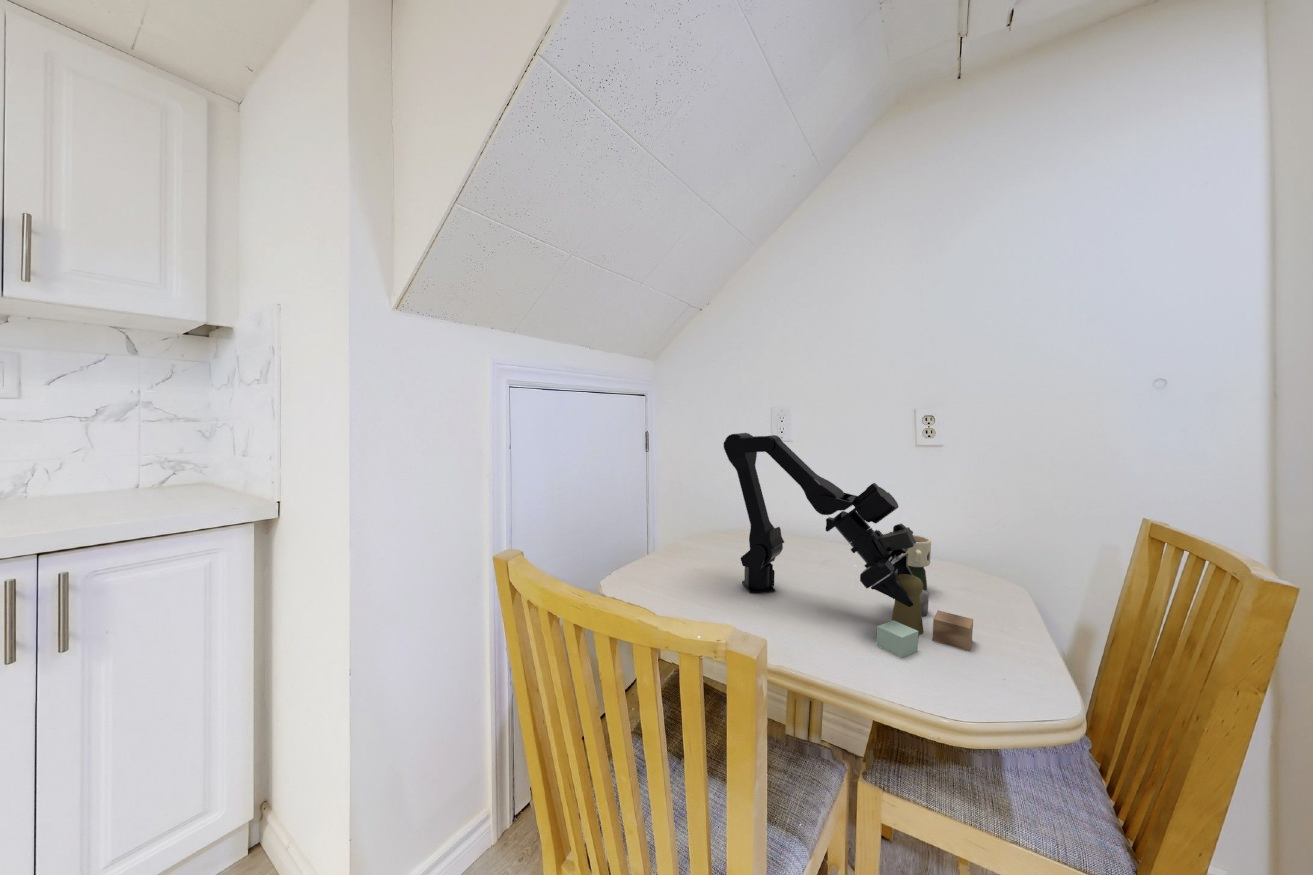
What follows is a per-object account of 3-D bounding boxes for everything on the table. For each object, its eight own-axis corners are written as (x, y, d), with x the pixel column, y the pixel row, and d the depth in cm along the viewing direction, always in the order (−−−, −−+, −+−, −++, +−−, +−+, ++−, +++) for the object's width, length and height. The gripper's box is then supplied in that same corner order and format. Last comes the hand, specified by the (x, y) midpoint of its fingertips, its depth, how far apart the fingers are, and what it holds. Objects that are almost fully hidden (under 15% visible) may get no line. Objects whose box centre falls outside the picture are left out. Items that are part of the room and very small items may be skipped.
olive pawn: (928, 636, 92) (930, 583, 91) (895, 633, 93) (897, 580, 92) (917, 622, 98) (919, 572, 97) (886, 619, 99) (888, 569, 98)
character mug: (934, 599, 109) (937, 546, 108) (901, 596, 111) (903, 543, 110) (922, 582, 119) (924, 533, 118) (892, 579, 121) (894, 531, 120)
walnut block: (932, 641, 90) (933, 618, 90) (936, 631, 94) (937, 610, 94) (969, 651, 87) (970, 628, 86) (972, 641, 90) (973, 618, 90)
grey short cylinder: (912, 616, 100) (913, 596, 100) (897, 606, 105) (898, 587, 105) (933, 615, 101) (934, 595, 101) (917, 605, 106) (918, 586, 106)
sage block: (901, 658, 84) (902, 637, 84) (876, 646, 88) (877, 625, 88) (917, 651, 86) (918, 631, 86) (892, 639, 91) (893, 620, 91)
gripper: (880, 522, 89) (944, 593, 83) (899, 505, 103) (954, 564, 97) (836, 554, 94) (894, 622, 88) (860, 534, 109) (911, 591, 103)
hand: (915, 598), depth 94 cm, fingers open, 8 cm apart
